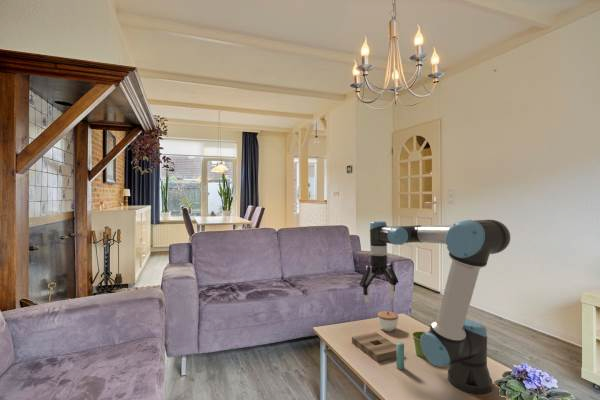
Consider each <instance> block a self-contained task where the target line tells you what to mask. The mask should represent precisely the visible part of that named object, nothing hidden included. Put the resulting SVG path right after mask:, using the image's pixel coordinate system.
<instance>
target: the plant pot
mask: <svg viewBox="0 0 600 400" xmlns="http://www.w3.org/2000/svg"><path fill="white" fill-rule="evenodd" d="M425 332H426V331H423V330H422V331H414V332H412V334H411V336H412V338H413V340H414V341H413V343H414V349H415V354H416V356H419V357H420V358H425V359H427V358H426V357H425V355H424V353H423V351H422V349H421V345H420V338H421V336H422V334H424V333H425Z"/></svg>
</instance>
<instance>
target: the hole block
mask: <svg viewBox="0 0 600 400" xmlns="http://www.w3.org/2000/svg"><path fill="white" fill-rule="evenodd" d="M351 344H352V345H354V346H355V347H357V348H358V349H360V350H361V351H362V352H363V353H365V355H367V356H369V357H370V359H373V361H375V362H376V363H377V362H378V363H379V362H383V361H386V360H391V359H394V358H395V359H396V358H397V343H394V342H392V341H391V340H389V339H388V338H386V337H384V336H383V335H381V334H379V333H378V332H377V331H376V332H375V331H374V332H370V333H365V334H360V335H354V336H351Z"/></svg>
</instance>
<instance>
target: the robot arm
mask: <svg viewBox="0 0 600 400" xmlns="http://www.w3.org/2000/svg"><path fill="white" fill-rule="evenodd" d="M369 226H370V227H369V241H370V242H369V244H370V245H369V246H370V265H365V266H364V271H363V274H362V277H361V279H360V281H359V287H361V288H362V289H363V290H362V291H363V296H364V302H365V303H367V304H370V303H371V302H370V298H371V297H370V287H369V286H370V285H371V284H372V282H373V280H374V278H375V277H377V276H379V275H383V276H384V277H385V278H386V279H387V281H388V282H389V284H388V298H389V299H391V300H394V299H395V291H396V285H397V284H399V279H398V277H397V275H396V273H395V270H394V266H393V264H392V263H388V255H387V254H388V244H390V245H396V246H397V245H398V246H399V245H404V244H408V243H426V244H428V243H429V244H440V245H446V249H447V250H448V257H449V258H450V259H451V263H450V268H449V271H448V275H447V279H446V283H445V287H444V290H443V291H444V292H443V295H442V298H441V303H440V307H439V310H438V314H437V318H435V319H432V321H431V323H430V325H429V326H430V327H429V331H424V332H425V333H424V334H422V336H421V338H420V345H421V349H422V351H423V353H424V355H425V357H426V358H425V359H427V361H428V362H429V363H430V364H432V365H434V366H435V367H440V368H441V367H448V366H449V367H448V370H447V380H448V382H449V383H450V384H451V385H452V386H454V387H455V388H457V389H459V390H462V391H463V392H468V393H471V394H478V395H479V394H481V395H482V394H488V393H490V392H491V391H492V390H493V379H492V378H491V374H490V371H489V368H488V333H487V328H486V327H485V325H483V324H482V323H480V322H477V321H475V320H470V319H467V316H468V312H469V309H470V305H471V302H472V297H473V294H474V290H475V287H476V283H477V280H478V277H479V272H480V269H482V268H485V267H486V266H487V264H488V261H489V258H490V255H494V254H498V253H502V252H503V251H505V250H506V249H507V247H508V246H510V245H509V244H510V242H511V232H510V230H509V229H508V227H507V226H506V225H505V224H504V223H502V222H501V221H499V220H494V219H474V220H473V219H467V220H462V221H457V222H455V223H453V224H452V225H450V224H449V225H443V224H441V225H439V224H438V225H435V224H434V225H421V224H417V225H404V226H403V225H402V226H388V225H387V222H386V221H382V220H379V221H377V220H376V221H371V222H370V224H369Z"/></svg>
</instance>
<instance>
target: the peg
mask: <svg viewBox="0 0 600 400" xmlns="http://www.w3.org/2000/svg"><path fill="white" fill-rule="evenodd" d="M396 345H397V357H396V369H397V370H400V371H403V370H404V369H405V343H403V342H396Z"/></svg>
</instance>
